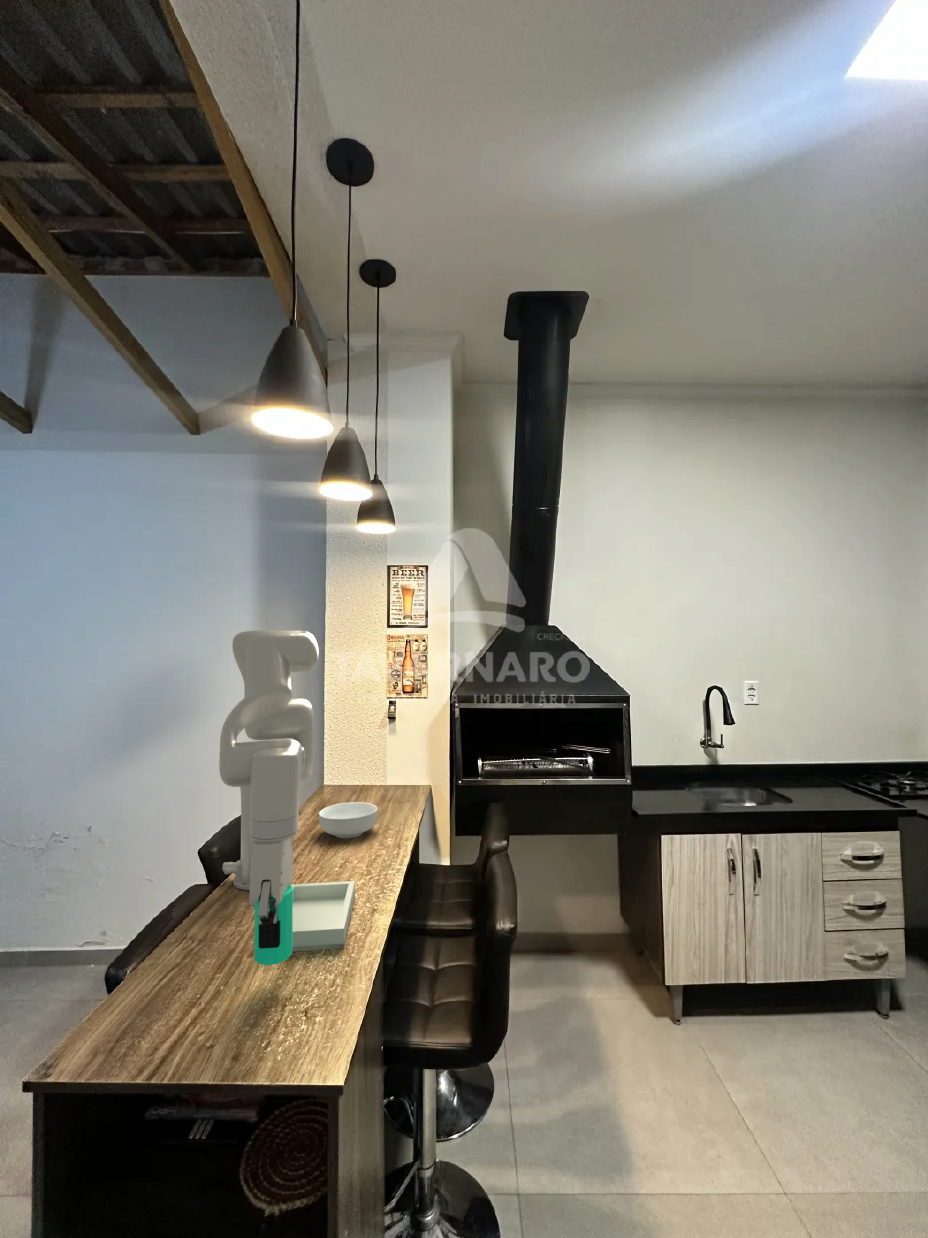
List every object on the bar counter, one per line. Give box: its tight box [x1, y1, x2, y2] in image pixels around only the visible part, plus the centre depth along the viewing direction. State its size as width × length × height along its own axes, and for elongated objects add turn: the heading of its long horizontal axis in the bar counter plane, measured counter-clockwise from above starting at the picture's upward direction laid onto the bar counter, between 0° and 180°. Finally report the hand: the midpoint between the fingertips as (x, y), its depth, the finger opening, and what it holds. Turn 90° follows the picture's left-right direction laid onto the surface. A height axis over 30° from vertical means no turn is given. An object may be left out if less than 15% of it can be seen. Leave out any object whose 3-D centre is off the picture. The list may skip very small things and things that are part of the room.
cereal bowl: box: [318, 801, 379, 839], centre depth 158 cm, size 17×17×7 cm
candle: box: [253, 885, 293, 966], centre depth 88 cm, size 6×6×12 cm
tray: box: [290, 880, 356, 953], centre depth 108 cm, size 14×20×4 cm
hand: (273, 936), depth 88 cm, fingers closed on candle, 4 cm apart
